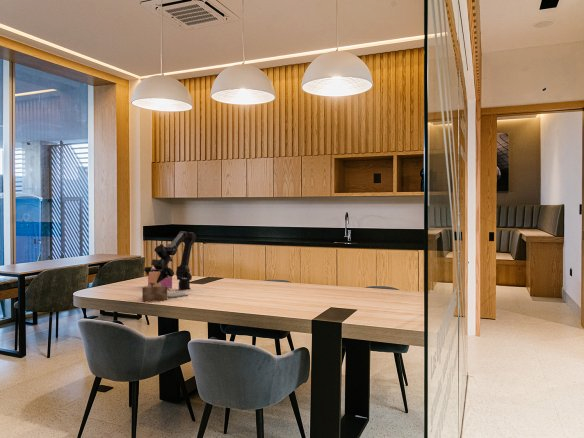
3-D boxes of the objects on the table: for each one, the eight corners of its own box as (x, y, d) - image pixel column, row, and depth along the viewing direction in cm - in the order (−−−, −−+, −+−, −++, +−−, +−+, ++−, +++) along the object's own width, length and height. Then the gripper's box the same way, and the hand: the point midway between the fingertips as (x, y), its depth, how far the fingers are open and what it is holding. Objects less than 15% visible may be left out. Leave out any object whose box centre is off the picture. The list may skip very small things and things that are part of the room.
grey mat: (179, 293, 291) (179, 291, 291) (187, 295, 282) (187, 294, 282) (161, 295, 284) (161, 293, 284) (169, 298, 275) (169, 296, 275)
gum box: (146, 285, 323) (146, 266, 323) (157, 284, 328) (157, 265, 328) (161, 289, 305) (161, 269, 305) (172, 288, 310) (172, 268, 310)
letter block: (153, 292, 280) (154, 271, 280) (160, 292, 279) (160, 271, 278) (148, 293, 275) (148, 272, 275) (155, 294, 274) (155, 272, 273)
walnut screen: (167, 298, 273) (166, 285, 273) (167, 300, 268) (167, 286, 268) (142, 300, 269) (142, 286, 269) (142, 301, 264) (142, 288, 264)
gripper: (145, 253, 283) (134, 273, 273) (171, 254, 277) (160, 275, 267) (153, 265, 291) (142, 284, 281) (178, 266, 285) (168, 286, 275)
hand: (153, 282), depth 276 cm, fingers closed on letter block, 5 cm apart
